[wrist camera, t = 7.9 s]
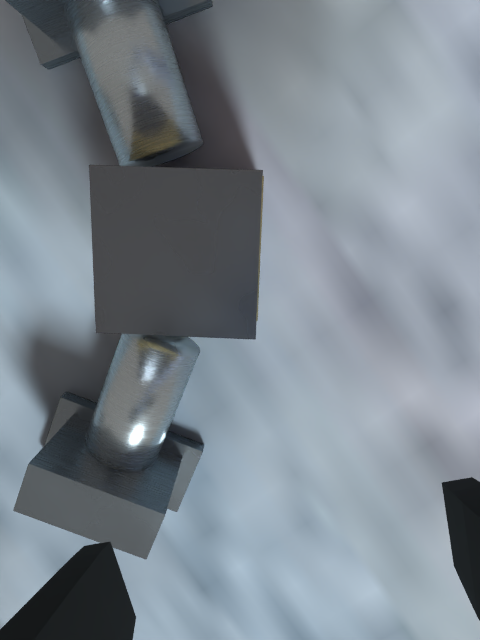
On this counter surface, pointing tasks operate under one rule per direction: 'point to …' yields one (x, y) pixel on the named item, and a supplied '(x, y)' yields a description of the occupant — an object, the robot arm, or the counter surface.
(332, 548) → the counter surface
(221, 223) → the block
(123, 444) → the shaft
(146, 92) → the shaft
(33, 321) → the counter surface
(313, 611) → the counter surface
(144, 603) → the counter surface
